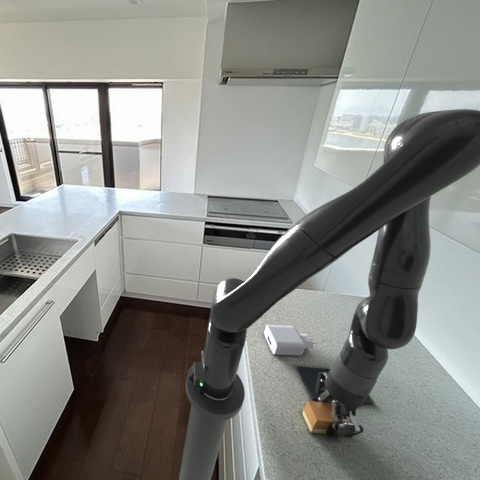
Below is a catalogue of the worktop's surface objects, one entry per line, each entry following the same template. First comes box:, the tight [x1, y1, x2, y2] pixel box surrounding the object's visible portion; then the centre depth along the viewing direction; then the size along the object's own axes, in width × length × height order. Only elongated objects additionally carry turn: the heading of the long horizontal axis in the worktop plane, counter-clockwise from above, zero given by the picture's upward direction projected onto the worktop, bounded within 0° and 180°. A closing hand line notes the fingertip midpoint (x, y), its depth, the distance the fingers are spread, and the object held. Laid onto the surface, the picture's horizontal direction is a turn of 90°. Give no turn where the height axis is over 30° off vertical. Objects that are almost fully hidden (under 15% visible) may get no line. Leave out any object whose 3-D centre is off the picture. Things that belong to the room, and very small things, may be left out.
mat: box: [296, 365, 374, 405], centre depth 73 cm, size 16×10×1 cm, turn 87°
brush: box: [302, 400, 340, 435], centre depth 62 cm, size 9×4×5 cm, turn 87°
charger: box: [263, 324, 317, 356], centre depth 84 cm, size 5×9×15 cm
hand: (324, 423), depth 63 cm, fingers closed on brush, 4 cm apart
